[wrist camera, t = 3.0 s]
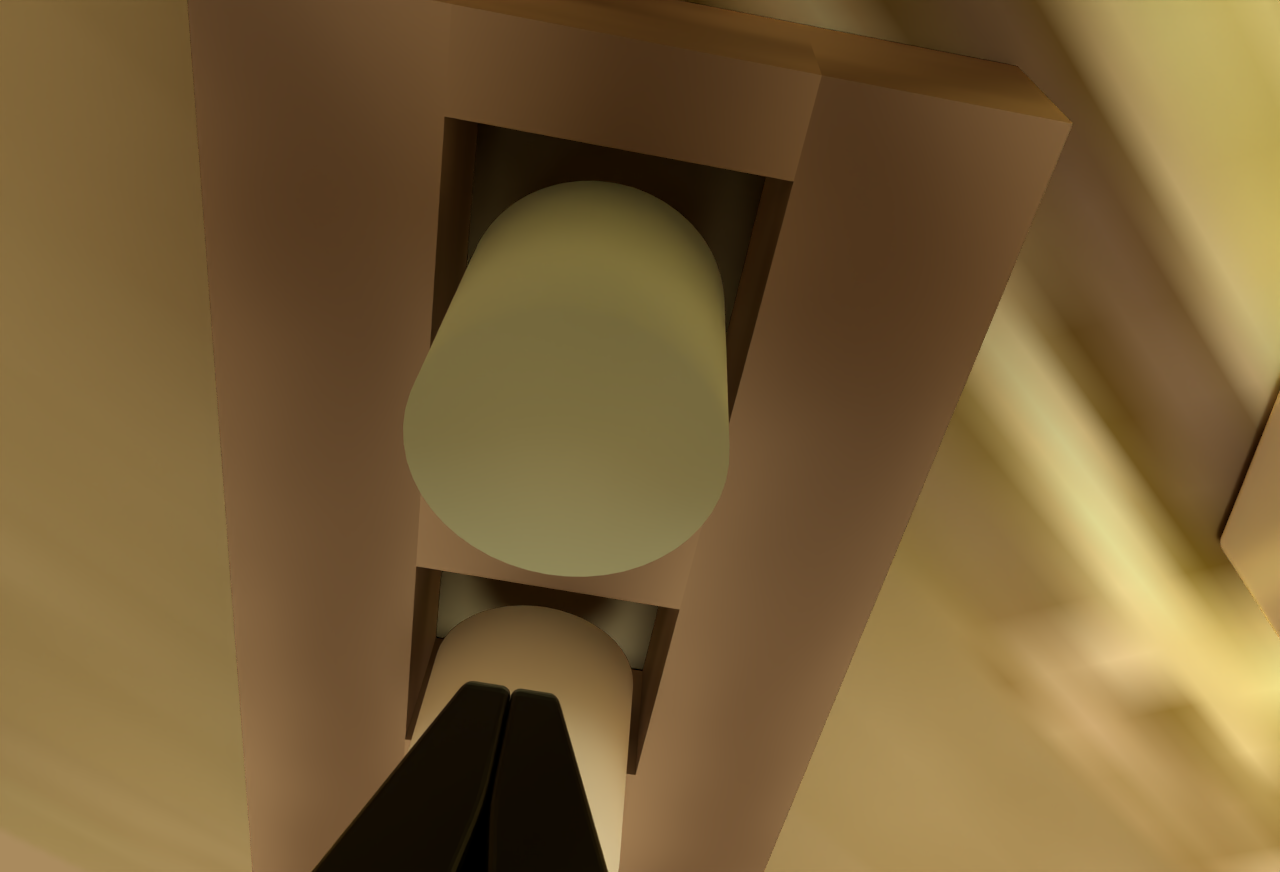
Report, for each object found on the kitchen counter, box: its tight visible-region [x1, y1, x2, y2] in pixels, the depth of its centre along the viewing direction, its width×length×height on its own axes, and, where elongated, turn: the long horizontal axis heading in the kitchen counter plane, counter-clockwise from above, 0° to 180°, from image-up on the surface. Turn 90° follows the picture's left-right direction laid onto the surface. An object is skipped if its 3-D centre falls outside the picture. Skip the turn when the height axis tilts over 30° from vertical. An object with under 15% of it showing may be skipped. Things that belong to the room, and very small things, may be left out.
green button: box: [403, 181, 730, 577], centre depth 14 cm, size 4×4×4 cm
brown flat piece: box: [187, 0, 1073, 872], centre depth 22 cm, size 12×25×3 cm, turn 170°
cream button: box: [408, 605, 633, 872], centre depth 19 cm, size 4×4×4 cm
